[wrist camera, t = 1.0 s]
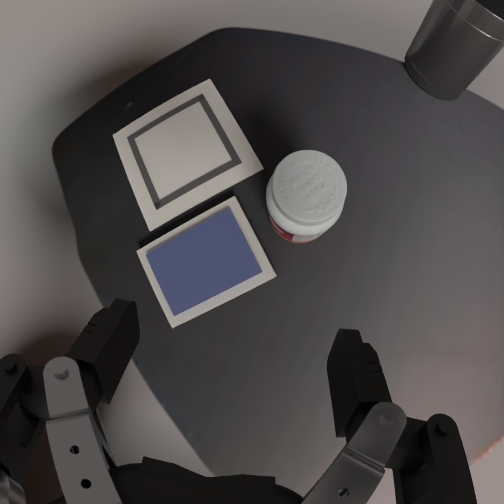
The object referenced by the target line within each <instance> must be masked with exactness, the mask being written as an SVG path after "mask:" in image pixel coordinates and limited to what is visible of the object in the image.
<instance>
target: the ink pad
mask: <svg viewBox="0 0 504 504" xmlns="http://www.w3.org/2000/svg"><path fill="white" fill-rule="evenodd" d="M137 254H138V256H139V258H140V261H141V263H142V265H143V267H144V270H145V272H146V274H147V276H148V279H149V281H150V283H151V285H152V287H153V290H154V292H155V294H156V296H157V298H158V300H159V302H160V304H161V307H162V309H163V311H164V313H165V315H166V317H167V319H168V321H169V323H170V325H171V327H172V328H174V327H176V326H178V325H180V324H182V323H184V322H186V321H188V320H190V319H192V318H194V317H196V316H198V315H201V314H203V313H205V312H207V311H209V310H211V309H213V308H215V307H217V306H219V305H221V304H223V303H225V302H227V301H229V300H231V299H233V298H235V297H237V296H239V295H241V294H243V293H245V292H247V291H249V290H251V289H253V288H255V287H257V286H259V285H261V284H263V283H265V282H266V281H268V280H270V279H272V278H274V277H276V274H275V272H274V270H273V268H272V266H271V264H270V262H269V260H268V258H267V256H266V254H265V252H264V250H263V249H262V247H261V245H260V243H259V241H258V239H257V237H256V235H255V233H254V231H253V229H252V227H251V225H250V224H249V222H248V220H247V218H246V216H245V214H244V212H243V210H242V208H241V206H240V204H239V202H238V201H237V199H236V197H235V196H234V197H232V198H230V199H228V200H226V201H224V202H222V203H221V204H219V205H217V206H215V207H213V208H211V209H209V210H208V211H206V212H204V213H202V214H200V215H199V216H197V217H195V218H193V219H191V220H190V221H188V222H186V223H184V224H182V225H181V226H179V227H177V228H175V229H174V230H172V231H170V232H168V233H167V234H165V235H163V236H161V237H160V238H158V239H156V240H155V241H153V242H151V243H149V244H148V245H146V246H144V247H143V248H141V249H139V250H138V251H137Z"/></svg>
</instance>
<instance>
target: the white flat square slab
mask: <svg viewBox="0 0 504 504" xmlns="http://www.w3.org/2000/svg"><path fill="white" fill-rule="evenodd" d="M113 138H114V141H115V143H116V146H117V149H118V152H119V155H120V157H121V160H122V163H123V166H124V168H125V171H126V174H127V176H128V179H129V181H130V184H131V187H132V189H133V192H134V194H135V197H136V199H137V202H138V204H139V207H140V209H141V211H142V214H143V216H144V219H145V221H146V223H147V226H148V228H149V230H150V231H152V230H154V229H155V228H157V227H159V226H160V225H162V224H164V223H166V222H167V221H169V220H171V219H172V218H174V217H176V216H178V215H179V214H181V213H183V212H185V211H186V210H188V209H190V208H192V207H194V206H195V205H197V204H199V203H201V202H203V201H204V200H206V199H208V198H210V197H212V196H214V195H215V194H217V193H219V192H221V191H223V190H225V189H227V188H228V187H230V186H232V185H234V184H236V183H238V182H240V181H242V180H244V179H246V178H248V177H249V176H251V175H253V174H255V173H257V172H259V171H261V170H263V169H264V168H263V166H262V165H261V163H260V161H259V159H258V158H257V156H256V154H255V152H254V151H253V149H252V147H251V146H250V144H249V142H248V140H247V139H246V137H245V135H244V134H243V132H242V130H241V129H240V127H239V125H238V124H237V122H236V120H235V119H234V117H233V115H232V114H231V112H230V110H229V109H228V107H227V105H226V104H225V102H224V101H223V99H222V97H221V96H220V94H219V92H218V91H217V89H216V88H215V86H214V84H213V83H212V81H211V80H210V79H208V80H206V81H204V82H202V83H200V84H198V85H196V86H194V87H192V88H190V89H189V90H187V91H185V92H183V93H181V94H179V95H177V96H176V97H174V98H172V99H170V100H168V101H167V102H165V103H163V104H161V105H160V106H158V107H156V108H155V109H153V110H151V111H150V112H148V113H146V114H145V115H143V116H141V117H140V118H138V119H137V120H135V121H134V122H132V123H130V124H129V125H127V126H126V127H124V128H123V129H121V130H120V131H118V132H117V133H115V134H114V135H113Z"/></svg>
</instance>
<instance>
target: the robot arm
mask: <svg viewBox="0 0 504 504" xmlns="http://www.w3.org/2000/svg"><path fill="white" fill-rule="evenodd" d="M503 47H504V0H433V2H432V4H431V6H430V8H429V10H428V12H427V14H426V16H425V18H424V20H423V22H422V24H421V26H420V28H419V30H418V32H417V34H416V36H415V38H414V39H413V41H412V43H411V45H410V47H409V49H408V51H407V53H406V56H405V66H406V69H407V71H408V73H409V75H410V76H411V77H412V79H413V80H414V81H415V82H416V83H417V85H419V86H420V87H421V88H422V89H423V90H425V91H426V92H428V93H429V94H431V95H433V96H435V97H437V98H440V99H445V100H452V99H455V98H457V97H458V96H459V95H460V94H461V93H462V92H463V91H464V90H465V89H466V88H467V87H468V85H470V83H471V82H472V81H473V80H474V79H475V78H476V77H477V76H478V75H479V74H480V73H481V72H482V71H483V69H484V68H485V67H486V66H487V65H488V64H489V63H490V62H491V60H492V59H493V58H494V57H495V56H496V55H497V54H498V53H499V52H500V50H501V49H502V48H503ZM139 337H140V328H139V321H138V314H137V307H136V303H135V301H131V300H126V299H121V298H116V299H115V300H114V302H113V303H112V304H111V306H110V307H109V309H107V308H103V309H101V310H100V311H98V312H97V313H95V314H94V315H93V317H92V318H91V320H90V321H89V322H88V325H86V326H85V328H84V330H83V332H81V334H80V335H79V336H78V338H77V339H76V341H75V343H74V344H73V345H72V347H71V348H70V350H69V351H68V353H67V354H66V356H65V357H58V358H55V359H52V360H51V361H49V362H48V363H47V365H46V366H32V365H27V364H26V362H25V360H24V358H23V357H22V356H20V355H18V354H9V355H6V356H4V357H3V358H1V359H0V504H26V500H25V494H24V491H23V489H22V487H21V484H22V481H23V479H24V476H25V473H26V471H27V468H28V466H29V463H30V460H31V458H32V455H33V453H34V451H35V448H36V446H37V443H38V441H39V438H40V436H41V434H42V432H43V429H44V427H45V425H46V428H47V433H48V438H49V442H50V447H51V451H52V455H53V459H54V463H55V467H56V470H57V474H58V477H59V480H60V484H61V487H62V490H63V493H64V495H63V496H61V497H60V498H57V499H56V500H53V501H51V502H49V503H47V504H366V503H367V502H368V500H369V498H370V497H371V495H372V494H373V492H374V491H375V489H376V487H377V486H378V484H379V482H380V481H381V479H382V477H383V475H384V473H385V470H384V467H385V468H390V469H392V470H393V478H394V486H395V495H396V504H477V500H476V495H475V491H474V486H473V482H472V477H471V473H470V470H469V465H468V462H467V458H466V454H465V451H464V447H463V444H462V440H461V437H460V434H459V430H458V427H457V425H456V423H455V421H454V420H453V419H452V418H451V417H449V416H447V415H445V414H435V415H433V416H431V417H430V418H429V419H428V421H423V420H418V419H413V418H409V417H406V415H405V413H404V411H403V410H402V409H401V408H400V407H399V406H398V405H396V404H394V403H392V400H391V396H390V393H389V390H388V386H387V383H386V380H385V377H384V374H383V373H382V371H383V370H382V367H381V364H380V361H379V358H378V355H377V352H376V351H375V350H374V349H373V347H372V346H371V345H370V344H369V343H363V342H362V339H361V335H360V332H359V331H358V330H354V329H339V330H338V332H337V334H336V337H335V340H334V343H333V345H332V348H331V351H330V353H329V356H328V360H327V373H328V380H329V387H330V394H331V401H332V408H333V416H334V424H335V432H336V437H346V443H347V444H346V445H345V446H344V448H343V449H342V450H341V452H340V453H339V454H338V456H337V457H336V458H335V460H334V461H333V462H332V464H331V465H330V466H329V468H328V469H327V470H326V471H325V473H324V474H323V475H322V476H321V478H320V479H319V480H318V481H317V482H316V484H315V485H314V486H313V487H312V488H311V489H310V490H309V492H308V493H307V494H306V495H305V496H304V497H301V496H300V495H299V494H297V493H296V492H294V491H292V490H290V489H288V488H286V487H283V486H281V485H277V484H275V477H270V476H256V475H244V474H241V475H232V476H220V477H205V476H202V475H200V474H197V473H195V472H192V471H190V470H188V469H185V468H183V467H181V466H179V465H176V464H174V463H169V462H165V461H160V460H156V459H152V458H148V457H145V456H144V457H143V460H142V463H133V464H126V465H121V466H119V464H118V463H117V460H116V458H115V456H114V454H113V452H112V450H111V448H110V445H109V442H108V440H107V437H106V434H105V431H104V429H103V426H102V423H101V420H100V417H99V414H98V411H97V406H98V404H99V402H103V403H106V404H110V401H111V399H112V397H113V395H114V393H115V391H116V389H117V386H118V384H119V382H120V380H121V378H122V375H123V373H124V371H125V369H126V367H127V365H128V363H129V361H130V359H131V357H132V355H133V353H134V351H135V349H136V347H137V345H138V342H139ZM15 405H17V406H16V408H15V410H14V412H13V414H12V416H11V418H10V420H9V422H8V423H7V421H8V419H9V417H10V415H11V413H12V411H13V409H14V407H15Z"/></svg>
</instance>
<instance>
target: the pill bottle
mask: <svg viewBox="0 0 504 504" xmlns="http://www.w3.org/2000/svg"><path fill="white" fill-rule="evenodd" d="M346 193H347V183H346V178H345V175H344V173H343V171H342V169H341V167H340V166H339V165H338V163H337V162H336V161H335V160H334V159H332V158H331V157H330V156H328V155H326V154H324V153H322V152H319V151H314V150H301V151H297V152H294V153H292V154H290V155H288V156H286V157H285V158H284V159H283V160H282V161H281V162H280V163H279V164H278V166H277V167H276V169H275V171H274V174H273V175H272V177H271V178H270V180H269V183H268V185H267V190H266V202H267V208H268V212H269V217H270V221H271V223H272V226H273V228H274V229H275V231H276V232H277V233H278V234H279V235H280V236H281V237H283V238H284V239H286V240H288V241H291V242H295V243H306V242H310V241H312V240H314V239H316V238H318V237H319V236H321V235H322V234H323V233H324V232H325V231H326V230H327V229H329V228H330V227H331V226H332V225H333V224H334V223H335V222H336V221H337V219H338V218H339V216H340V214H341V212H342V209H343V205H344V200H345V197H346Z"/></svg>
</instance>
